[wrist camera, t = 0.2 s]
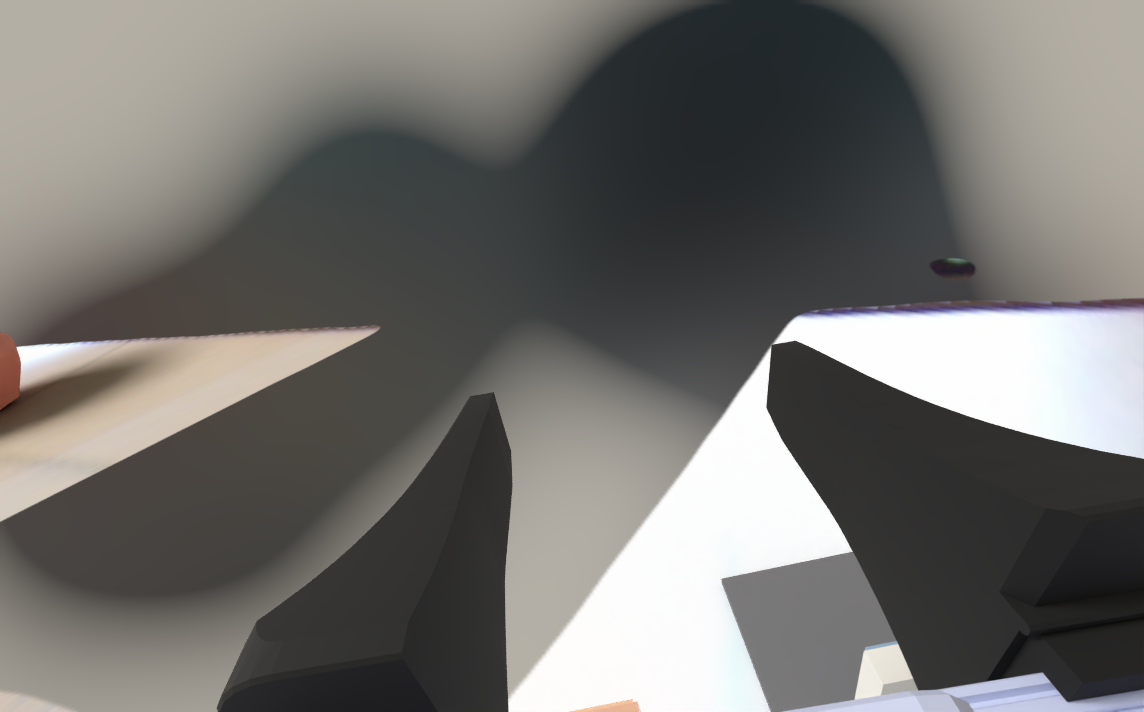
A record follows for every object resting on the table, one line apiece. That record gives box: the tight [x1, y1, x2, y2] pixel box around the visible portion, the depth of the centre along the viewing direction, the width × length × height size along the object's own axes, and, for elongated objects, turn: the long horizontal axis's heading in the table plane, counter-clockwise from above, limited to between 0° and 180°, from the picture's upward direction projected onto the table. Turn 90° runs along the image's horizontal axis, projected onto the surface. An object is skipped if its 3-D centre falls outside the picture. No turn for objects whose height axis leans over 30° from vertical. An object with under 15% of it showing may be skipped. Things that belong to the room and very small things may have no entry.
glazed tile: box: [855, 641, 918, 700], centre depth 20 cm, size 1×6×7 cm, turn 94°
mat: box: [722, 552, 896, 712], centre depth 24 cm, size 13×12×1 cm
